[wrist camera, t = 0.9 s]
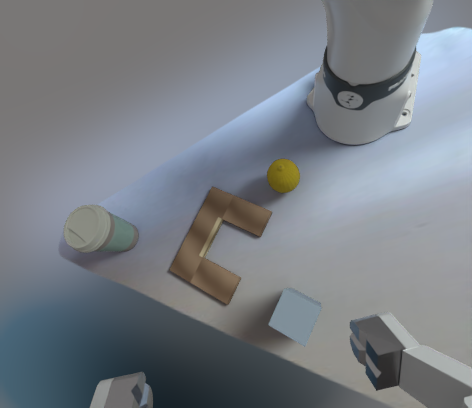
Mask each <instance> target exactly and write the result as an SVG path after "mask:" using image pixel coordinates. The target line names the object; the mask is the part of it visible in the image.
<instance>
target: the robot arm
mask: <svg viewBox="0 0 472 408" xmlns="http://www.w3.org/2000/svg"><path fill="white" fill-rule="evenodd" d="M322 3H323V5H324V8H325V12H326V21H327V47H326V49H325V53H324V58H323V64H322V65H321V67H320V71H319V73H317V74H316V76H315V84H314V88H313V89H312V91H311V92H310V93H309V95H308V96H307V104H308V106H309V107H310V108H311V109H312V110H313V111H314V114H315V118H316V122H317V124H318V126H319V128H320V130H321V131H322V132H323V133H324V134H325V135H326V136H327V137H329V138H330V139H332V140H334V141H337V142H339V143H343V144H350V145H358V144H365V143H369V142H372V141H375V140H377V139H379V138H380V137H382V136H384V135H385V134H387V133H389V132H391V131H395V130H400V129H403V128H406V127H408V126H409V125H410V122H411V119H412V113H413V107H414V100H415V94H416V87H417V81H418V74H419V68H420V62H421V54H420V53H418V52H417V51H416V45H417V42H418V40H419V38H420V35H421V33H422V30H423V28H424V26H425V23H426V21H427V18H428V16H429V13H430V11H431V8H432V5H433V0H322ZM402 114H405V115H406V116H403V115H402ZM350 329H351V330H352V332H353V333H352V334H351V335H350V344H351V347H352V350H353V353H354V355H355V357H356V358H357V360H358V362H359V363H361V364H363V365H364V366H366V375H367V376H368V378H369V379H370V381H371V383H372V384H373V386H374V388H375V389H376V391H377V390H381V389H386V388H390V387H394V386H399V387H400V388H401V389H403V390H404V391H405V392H407V393H408V394H410V395H411V396H412V397H414V398H415V399H416V400H418V401H419V402H421V403H422V404H423V405H425V406H426V407H427V408H472V368H471V367H469V366H467V365H465V364H463V363H461V362H459V361H457V360H455V359H453V358H451V357H449V356H446V355H444V354H442V353H440V352H438V351H436V350H434V349H432V348H430V347H428V346H426V345H419V343H418V342H417V341H416V340H415V339H414V338H413V337H412V336H411V335H410V334H409V333H408V331H407V330H406V329H405V328H404V327H403V326H402V325H401V324H400V323H399V322H398V321H397V319H396V318H395V317H394V316H393V315H392V314H391V313H389V312H384V313H380V314H376V315H371V316H367V317H363V318H359V319H355V320H351V322H350ZM145 380H146V377H145V375H144V373H143V372H139V373H135V374H130V375H125V376H121V377H116V378H112V379H107V380H103V381H100V383H99V384H98V386H97V388H96V391H95V394H94V397H93V399H92V402H91V405H90V408H152V406H153V396H152V391H151V388H150V386H149V385H147V384H145Z"/></svg>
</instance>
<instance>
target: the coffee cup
mask: <svg viewBox="0 0 472 408" xmlns="http://www.w3.org/2000/svg"><path fill="white" fill-rule="evenodd" d="M64 238H65V241H66V242H67V244H68V245H69V246H71V247H72V248H73V249H75V250H77V251H79V252H82V253H89V252H92V251H129V250H131V249H132V248H133V247H134V246H135V245H136V243H137V241H138V230H137V228H136V227H135V226H134V225H132V224H130V223H128V222H127V221H125V220H123V219H121V218H119V217H117V216H115V215H113V214H111V213H110V212H108V211H106V209H104V208H103V207H101V206H98V205H85V206H81V207H78V208H77V209H75V210H74V211H73V212H72V213H71V214H70V215H69V217H68V218H67V220H66V223H65V226H64Z"/></svg>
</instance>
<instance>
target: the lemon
mask: <svg viewBox="0 0 472 408" xmlns="http://www.w3.org/2000/svg"><path fill="white" fill-rule="evenodd" d="M267 179H268V182H269V185H270V186H271V187H272V188H273V189H274V190H275V191H277V192H280V193H287V192H290V191H292V190H294V189H295V187H296V186H297V185H298V183H299V179H300V173H299V170H298V168H297V166H296V165H295V164H294V163H293V162H292V161H290V160H288V159H278V160H276V161H274V162H273V163H272V164H271V165H270V167H269V169H268V173H267Z"/></svg>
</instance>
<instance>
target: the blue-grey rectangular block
mask: <svg viewBox="0 0 472 408" xmlns="http://www.w3.org/2000/svg"><path fill="white" fill-rule="evenodd" d="M320 311H321V303H320V302H318V301H316V300H314V299H312V298H310V297H308V296H306V295H304V294H303V293H301V292H299V291H297V290H295V289H293V288H286V289H284V291H283V293H282V295H281V297H280V300H279V302H278V304H277V306H276V308H275V311H274V313H273V315H272V317H271V320H270V322H269V324H268V325H269V326H271V327H272V328H274V329H276V330H278V331H279V332H281V333H283V334H284V335H286V336H288V337H289V338H291V339H293V340H294V341H296V342H298V343H299V344H301V345H303V346H306V344H307V341H308V339H309V337H310V334H311V332H312V330H313V327H314V325H315V323H316V320H317V318H318V315H319V313H320Z"/></svg>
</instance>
